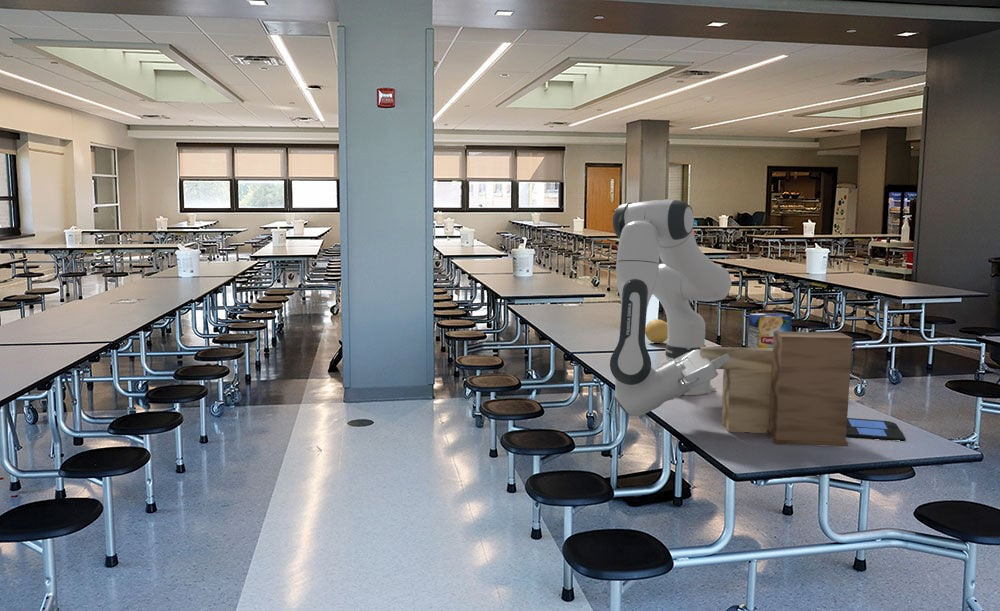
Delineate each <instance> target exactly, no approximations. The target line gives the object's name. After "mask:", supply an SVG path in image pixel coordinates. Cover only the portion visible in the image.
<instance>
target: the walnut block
mask: <svg viewBox="0 0 1000 611" xmlns="http://www.w3.org/2000/svg"><path fill="white" fill-rule="evenodd" d="M852 350H853V337H852V336H848V335H847V334H844V333H842V332H815V331H813V332H812V331H811V332H810V331H791V332H774V335H773V354H772V374H771V393H770V413H769V430H766V433H765V434H766V436H768V438H769V439H770V440H771V442H772V443H773V444H774V445H781V446H782V445H783V446H784V445H785V446H786V445H787V446H788V445H789V446H812V447H813V446H819V447H846V448H847V447H849V442H848V441H847V437H846V430H847V418H848V411H849V400H850V399H849V398H850V397H849V395H850V382H851V380H850V379H851V367H852V366H851V364H852Z"/></svg>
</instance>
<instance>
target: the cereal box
mask: <svg viewBox="0 0 1000 611" xmlns="http://www.w3.org/2000/svg"><path fill="white" fill-rule="evenodd" d="M792 317H793V316H792V315H788V314H785V313H782V312H776V313H775V312H773V313H772V312H771V313H770V312H769V313H766V312H765V313H764V312H763V313H748V328H747V329H748V330H747V332H748V333H747V334H748V335H747V348H773V335H774V332H792Z"/></svg>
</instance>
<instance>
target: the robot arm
mask: <svg viewBox="0 0 1000 611" xmlns="http://www.w3.org/2000/svg"><path fill="white" fill-rule="evenodd" d="M694 219H695V217H694V210H693V208H692V206H690V204H689V203H687V202H686V201H683V200H678V199H667V198H665V199H662V200H661V199H656V200H655V199H653V200H645V201H638V202H627V203H623V204H620V205H618V206H617V208H616V209H615V211H614V213H613V216H612V228H613V231H614V234H615V235H616V237H617V238H618V239H619V241H618V245H617V246H618V247H617V253H616V264H615V275H616V277H615V278H616V285H617V289H618V290H617V291H618V295H619V298H620V305H621V310H620V311H621V312H620V313H621V314H620V327H619V335H618V336H619V338H618V342H617V345H616V346H615V348H614V350H613V352H612V354H611V356H610V361H609V368H610V372H611V375H613V377H614V381H615V383H614V384H615V387H614V388H615V390H614V400H615V401H616V403H617V404H618V406H619V407H620V409H621V410H622V411H623V412H624V413H625V414H627V415H628V416H630V417H635V418H636V417H639V416H642V415H644V414H645V415H646V414H647V413H650V412H651V411H653V410H656V409H658V408H659V407H661V406H662V405H663V404H664V403H666V402H668V401H673V400H674V399H677V398H679V397H680V396H683V395H684V396H698V395H699V396H700V395H704V394H708V393H711V392H712V393H713V392H716V389H717V388H716V387H715V386H714V385H712V384H711V381H712V380H713V379H715V378H716V377H717V376H718V375H719V373H718V371H717V370H719V369H718V368H719V367H721V366H722V365H723V364H724V363H725V362H727V361H729V360H730V357H729V355H728V354H727V353H724V354H722V355H720V357H718V358H717V359H715V360H712V361H710V360H709V359H708V358H707V357H705V358H702V357H701V356H700V349H701V347H707V346H706V345H705V342H706V322H705V319H704V317H703V316H702V315H701V314H699V313H698V312H696V311H695V310H693V308H692V307H691V305H690V301H697V302H715V301H716V302H717V301H722V300H724V299H725V298H726V297H727V296H728V295H729V293H730V291H731V289H732V278H731V274H730V272H729V271H728V270H727V268H725V267H723V266H721V265H719V264H717V263H715V262H714V261H712V260H711V259H710V258H709V257H708V256H706V255H705V253H704V252H703V251H702V250H701V249H700V247H699V246H698V243H697V241H696V238H695V236H694V232H693V227H694V221H695V220H694ZM660 260H661V262H662V263H660ZM652 296H654V297H655V298H656V299H657V300H658V301H659V302H660V304H661V306H662V308H663V310H664V312H665V316H666V323H667V326H668V338H667V343H666V344H665V349H664V351H665V352H664V354H665V357H664V360H662V362H660V364H659V365H657V366H656V367H657V368H655V369H653V368H652V360H651V356H650V354H649V351H648V348H647V346H646V334H645V329H646V326H647V313H648V306H649V304H650V301H651V298H652Z"/></svg>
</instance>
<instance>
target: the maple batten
mask: <svg viewBox="0 0 1000 611" xmlns="http://www.w3.org/2000/svg"><path fill="white" fill-rule="evenodd" d="M724 353H727V354H728V355H729V357H730V360H729V361H727V362H725V363H724V364H723V365H722V366H721V367H719V368H718V369H717V370H724V369H735V370H772V354H773V348H748V347H737V346H736V347H728V346H724V347H723V346H706V347H701V349H700V356H701V357H702V358H705V357H707V358H708V359H709V360H710V361H712V360H715V359H717V358H718V357H720V355H722V354H724Z"/></svg>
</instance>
